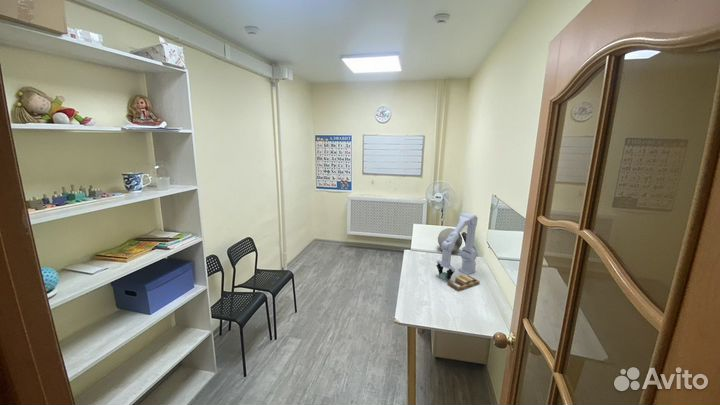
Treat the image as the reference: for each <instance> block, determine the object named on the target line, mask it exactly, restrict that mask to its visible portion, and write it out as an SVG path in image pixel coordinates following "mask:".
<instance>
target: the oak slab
mask: <svg viewBox="0 0 720 405" xmlns="http://www.w3.org/2000/svg"><path fill="white" fill-rule="evenodd" d="M468 276H469V275H467V274H461V275H458V276H455V280H456V279H457V280H459V281H461V282H463V283H464V284H469V283H472V282H473V281H474V279H475V278H474V279H472V278H473V277H472V278H470V277H471V276H470V277H468Z"/></svg>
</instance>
